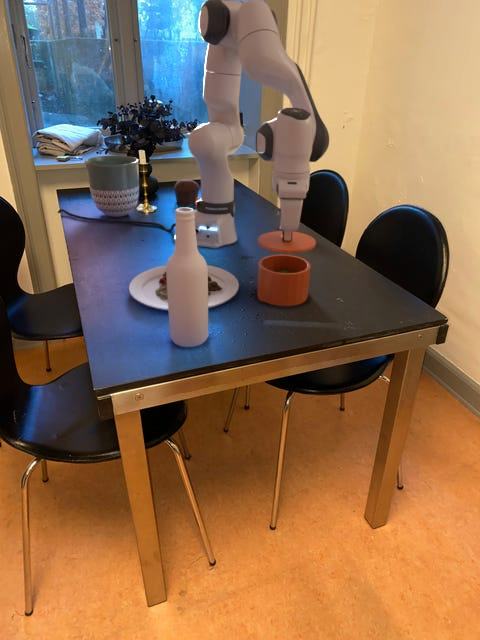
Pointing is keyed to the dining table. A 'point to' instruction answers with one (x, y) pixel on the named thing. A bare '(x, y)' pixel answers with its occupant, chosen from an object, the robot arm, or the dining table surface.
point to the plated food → (154, 287)
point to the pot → (283, 280)
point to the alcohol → (187, 285)
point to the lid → (286, 242)
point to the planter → (113, 183)
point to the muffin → (186, 192)
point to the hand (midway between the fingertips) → (286, 237)
